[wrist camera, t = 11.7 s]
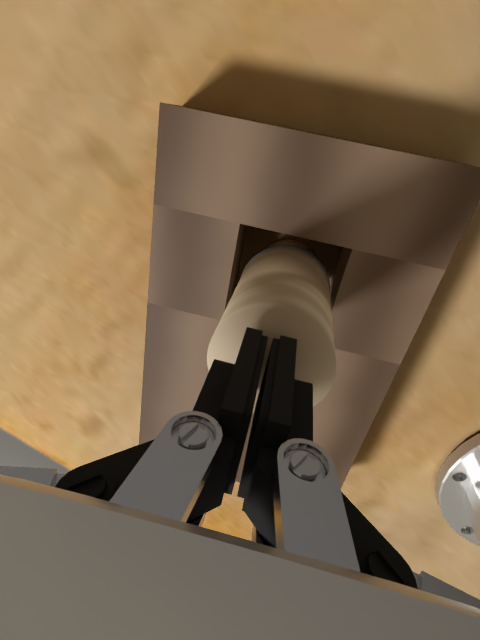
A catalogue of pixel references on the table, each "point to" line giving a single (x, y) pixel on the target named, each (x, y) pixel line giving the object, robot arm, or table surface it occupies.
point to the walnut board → (302, 221)
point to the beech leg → (282, 313)
